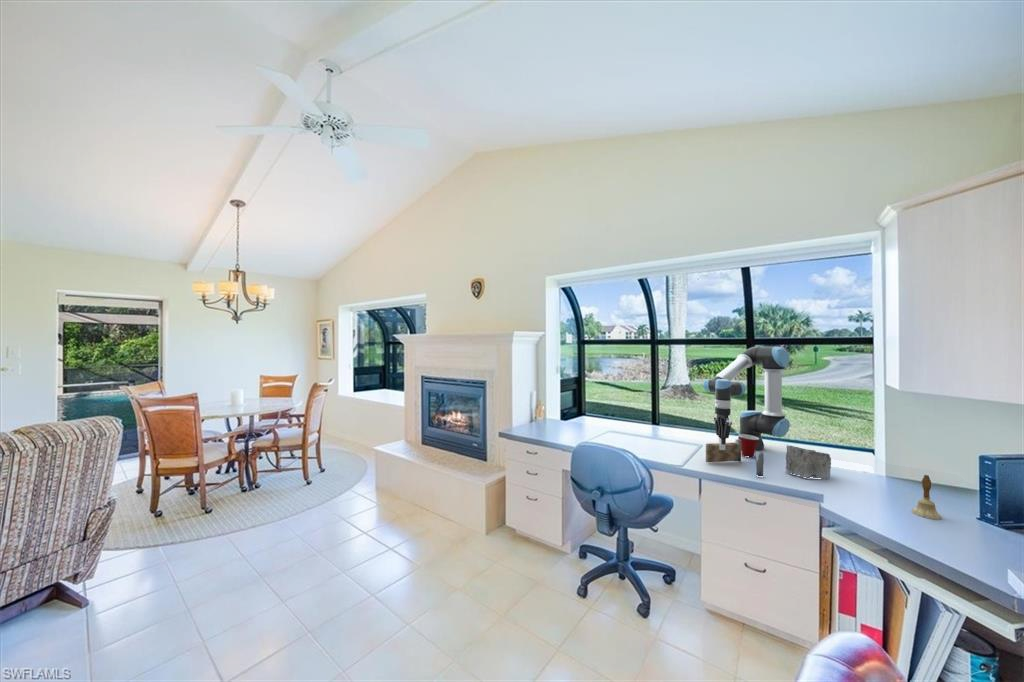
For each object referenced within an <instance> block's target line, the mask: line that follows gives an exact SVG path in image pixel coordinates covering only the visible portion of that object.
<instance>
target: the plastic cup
mask: <svg viewBox="0 0 1024 682" xmlns="http://www.w3.org/2000/svg"><path fill="white" fill-rule="evenodd" d="M738 437H739V439H740V440H742V442H741V456H743V455H744V456H743V457H745V456H749V457H748V458H754V457H755V454H756V453H755V452H756V450H755V449H756V445H757V442H758V440H759V438H758V437H755V436H751V435H746V434H740V433H738ZM753 456H754V457H753Z"/></svg>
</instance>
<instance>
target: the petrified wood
mask: <svg viewBox="0 0 1024 682" xmlns="http://www.w3.org/2000/svg"><path fill="white" fill-rule="evenodd" d="M785 460H786V462H785V464H786V465H785V472H786V473H787V472H788V473H792V474H795V475H800V476H802V477H806V478H810V477H813V478H821V479H820V480H830V477H831V469H832V466H831V465H832V458H831V456H830V453H828V452H827V453H825V452H821V451H816V450H814V449H806V448H803V447H799V446H793V445H789V444H787V445H786V453H785ZM788 473H787V474H788ZM792 474H791V475H792ZM795 475H794V476H795ZM802 477H801V478H802Z"/></svg>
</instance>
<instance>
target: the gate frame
mask: <svg viewBox="0 0 1024 682" xmlns="http://www.w3.org/2000/svg"><path fill="white" fill-rule="evenodd" d="M734 442H738V443H739V461H741V462H742V451H741V442H742V440H740V439H738V438H736V439H735V440H734ZM764 456H765V454H764V453H763V452H761V451H760V452H759V451H758V452H756V461H755V462H756V469H755V470H756V473H755V474H756V475H758V476H763V477H764V461H765V458H764ZM756 475H755V476H756Z"/></svg>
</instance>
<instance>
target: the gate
mask: <svg viewBox="0 0 1024 682" xmlns="http://www.w3.org/2000/svg"><path fill="white" fill-rule="evenodd" d="M737 461H739V443H738V442H735V441H734V442H726V444H725V450H719V442H716V443H715V442H713V443H710V442H709V443H705V462H706V463H723V462H726V463H727V462H737Z"/></svg>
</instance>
